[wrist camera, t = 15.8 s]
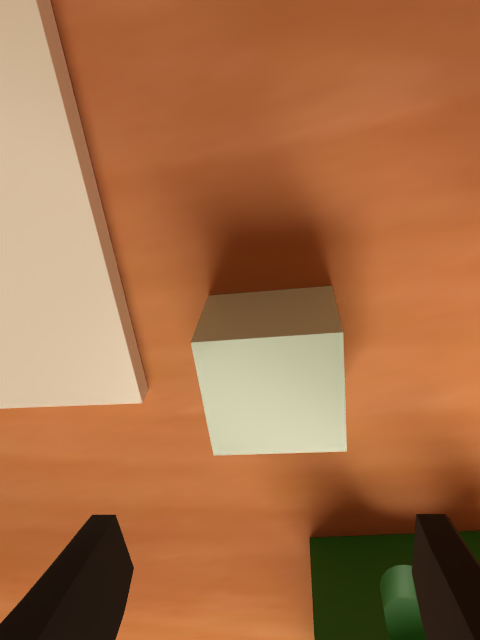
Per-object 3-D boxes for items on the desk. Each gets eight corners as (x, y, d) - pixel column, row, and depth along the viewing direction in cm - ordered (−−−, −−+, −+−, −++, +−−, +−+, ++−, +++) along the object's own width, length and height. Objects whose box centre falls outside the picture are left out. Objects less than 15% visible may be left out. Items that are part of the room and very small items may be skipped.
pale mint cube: (336, 387, 20) (346, 451, 17) (226, 393, 21) (213, 455, 17) (331, 284, 18) (343, 332, 14) (209, 294, 19) (190, 342, 15)
